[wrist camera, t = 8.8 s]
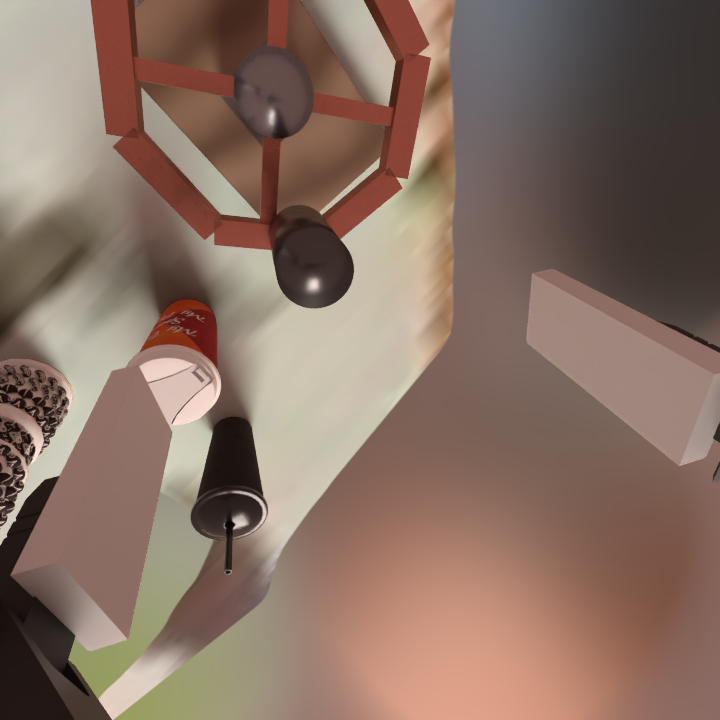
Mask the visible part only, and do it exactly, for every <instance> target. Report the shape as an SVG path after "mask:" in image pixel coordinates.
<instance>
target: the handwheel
mask: <svg viewBox="0 0 720 720" xmlns="http://www.w3.org/2000/svg"><path fill="white" fill-rule="evenodd" d="M134 1H135V0H91V7H92V15H93V24H94V32H95V41H96V49H97V58H98V67H99V75H100V84H101V92H102V101H103V109H104V118H105V126H106V134H110V135H116V136H123V138H122V139H120V140H119V141H118V142H117V143H116V144H115V145H114V146H113V147H114V148H115V149H116V151H117V152H118V153H119V154H120V155H121V156H122V157H123V158H124V159H125V160H126V161H127V162H128V163H129V164H130V165H131V166H132V167H133V168H134V169H135V170H136V171H137V172H138V173H139V174H140V175H141V176H142V177H143V178H144V179H145V180H146V181H147V182H148V183H149V184H150V185H151V186H152V187H153V188H154V189H155V190H156V191H157V192H158V193H159V194H160V195H161V196H162V197H163V198H164V199H165V200H166V201H167V202H168V203H169V204H170V205H171V206H172V207H173V208H174V209H175V210H176V211H177V212H178V213H179V215H180V216H181V217H182V218H183V219H184V220H185V221H186V222H187V223H188V224H189V225H190V226H191V227H192V228H193V229H194V230H195V231H196V232H197V233H198V234H199V235H200V236H201V237H202V238H203V239H204V240H205V239H206V238H208V237H209V236H210V235H211V234H212V233H213V232H214V242H215V245H222V246H233V247H244V248H255V249H267V250H272V255H273V261H274V266H275V271H276V276H277V280H278V284H279V286H280V288H281V290H282V292H283V293H284V294H285V296H286V297H287V298H288V299H289V300H291V301H292V302H294V303H295V304H297V305H300V306H302V307H306V308H322V307H326V306H329V305H331V304H333V303H335V302H337V301H338V300H339V299H340V298H342V297H343V296H344V294H345V293H346V292H347V290H348V289H349V287H350V285H351V282H352V280H353V275H354V265H353V260H352V257H351V255H350V252H349V251H348V249H347V248H346V246H345V245H344V244H343V242H342V241H341V240H340V239H341V238H342V237H343V236H344V235H346V234H347V233H348V232H349V231H351V230H352V229H353V228H354V227H355V226H357V225H358V224H359V223H360V222H362V221H363V220H364V219H365V218H366V217H368V216H369V215H370V214H371V213H373V212H374V211H375V210H376V209H377V208H379V207H380V206H381V205H382V204H383V203H385V202H386V201H387V200H388V199H390V198H391V197H392V196H393V195H394V194H396V193H397V192H398V191H399V190H401V189H402V186H401V185H400V183H399V181H398V180H397V178H396V177H398V178H405V179H408V175H409V170H410V164H411V159H412V154H413V149H414V143H415V138H416V133H417V128H418V123H419V117H420V112H421V107H422V102H423V96H424V91H425V86H426V81H427V76H428V70H429V65H430V60H431V58H429V57H425V56H421V55H418V54H419V53H420V52H422V51H423V50H424V49H425V48H426V47H427V46H428V45H429V43H428V41H427V39H426V36H425V34H424V32H423V30H422V28H421V26H420V24H419V22H418V19H417V17H416V15H415V13H414V11H413V9H412V7H411V5H410V3H409V0H364V1H365V3H366V5H367V7H368V9H369V11H370V13H371V15H372V17H373V19H374V21H375V22H376V24H377V26H378V28H379V30H380V32H381V34H382V36H383V38H384V40H385V42H386V43H387V45H388V47H389V49H390V51H391V53H392V55H393V57H394V59H395V61H396V64H395V70H394V77H393V83H392V89H391V95H390V102H389V107H387V106H382V105H377V104H372V103H366V102H361V101H356V100H351V99H346V98H341V97H336V96H331V95H326V94H321V93H316V92H314V90H313V85H312V81H311V78H310V76H309V73H308V71H307V69H306V68H305V66H304V65H303V63H302V62H301V61H300V60H299V59H298V58H297V57H296V56H295V55H294V54H292V53H291V52H289V51H288V50H286V39H287V22H288V4H289V0H268V21H267V46H262V47H259V48H256V49H254V50H252V51H251V52H250V53H248V54H247V55H246V56H245V57H244V58H243V60H242V61H241V63H240V64H239V66H238V68H237V71H236V74H235V77H234V76H230V75H225V74H220V73H214V72H209V71H204V70H199V69H194V68H189V67H184V66H179V65H174V64H169V63H164V62H159V61H154V60H149V59H143V58H138V46H137V33H136V20H135V8H134ZM140 81H144V82H149V83H155V84H160V85H166V86H171V87H177V88H182V89H187V90H193V91H198V92H204V93H209V94H215V95H220V96H226V97H231V98H234V95H235V100H236V104H237V107H238V109H239V111H240V113H241V115H242V117H243V118H244V120H245V121H246V122H247V123H248V125H249V126H250V127H251V128H252V129H254V130H255V131H256V132H258V133H260V134H261V135H263V150H262V176H261V201H260V219H257V218H248V217H239V216H229V215H221V214H220V213H219V212H218V211H217V210H216V209H215V208H214V207H213V205H212V204H211V203H210V202H209V201H208V200H207V199H206V198H205V197H204V196H203V195H202V194H201V192H200V191H199V190H198V189H197V188H196V187H195V186H194V185H193V184H192V183H191V182H190V180H189V179H188V178H187V177H186V176H185V175H184V174H183V173H182V172H181V171H180V170H179V169H178V167H177V166H176V165H175V164H174V163H173V162H172V161H171V160H170V159H169V158H168V157H167V156H166V154H165V153H164V152H163V151H162V150H161V149H160V148H159V147H158V146H157V145H156V144H155V142H154V141H153V140H152V139H151V138H150V137H149V136H148V135H147V134H146V133H145V132H144V121H143V109H142V96H141V83H140ZM312 112H313V113H318V114H324V115H329V116H335V117H340V118H345V119H351V120H356V121H362V122H367V123H373V124H378V125H384V126H386V127H385V133H384V139H383V145H382V152H381V158H380V164H379V168H378V169H377V170H375V171H374V172H373V173H372V174H371V175H369V176H368V177H367V178H366V179H365V180H363V181H362V182H361V183H360V184H359V185H357V186H356V187H355V188H354V189H353V190H352V191H350V192H349V193H348V194H347V195H346V196H344V197H343V198H342V199H341V200H340V201H338V202H337V203H336V204H335V205H334V206H332V207H331V208H330V209H329V210H328V211H326V212H325V213H324V214H323V215H321V214H320V213H319V212H318V211H316V210H315V209H313V208H311V207H309V206H305V205H293V206H289V207H286V208H285V209H283V210H281V211H280V212H279V213H278V214H277V197H278V180H279V162H280V145H281V139H283V138H288V137H290V136H293V135H294V134H296V133H298V132H299V131H300V130H301V129H302V128H303V127H304V126H305V125H306V123H307V122H308V120H309V118H310V116H311V113H312Z"/></svg>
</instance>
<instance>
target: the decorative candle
mask: <svg viewBox="0 0 720 720" xmlns="http://www.w3.org/2000/svg"><path fill="white" fill-rule="evenodd" d="M72 400H73V393H72V388H71V385H70V384H69V382H68V381H67V380H66V378H65V377H64V376H63V374H62V373H60V372H58V371H57V370H55V369H54V368H52V367H51V366H49V365H48V364H45V363H41V362H38V361H35V360H32V359H8V360H5V361H1V362H0V527H1V526H2V525H4V524H5V523H6V521H7V515H6V514H8V513H10V512H12V511H13V509H14V507H15V504H14V502H15V501H16V499H17V493H19V492H21V491H22V490H23V488H24V484H25V481H26V478H27V475H28V473H29V471H28V468H27V467H28V466H29V465H30V464H32V463H33V462H34V461H35V459H36V458H37V456H38V455H40V454H41V453H42V452H43V448H45V447H47V446H48V445H49V443H50V440H49V438H50V437H53V436H54V435H55V431H56V429H57V428H58V427H59V426H60V425H61V424H62V421H63V418H64V417H65V416H66V415H67V413H68V410H69V408H70V406H71V403H72Z"/></svg>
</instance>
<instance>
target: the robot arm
mask: <svg viewBox="0 0 720 720" xmlns="http://www.w3.org/2000/svg"><path fill="white" fill-rule="evenodd" d="M526 342H527V343H528V344H529V345H530V346H532V347H533V348H534V349H535V350H536V351H538V352H539V353H540V354H541V355H543V356H544V357H545V358H546V359H548V360H549V361H550V362H551V363H553V364H554V365H555V366H556V367H558V368H559V369H560V370H561V371H562V372H564V373H565V374H566V375H567V376H569V377H570V378H571V379H572V380H574V381H575V382H576V383H577V384H579V385H580V386H581V387H582V388H584V389H585V390H586V391H587V392H588V393H590V394H591V395H592V396H593V397H595V398H596V399H597V400H598V401H600V402H601V403H602V404H603V405H604V406H606V407H607V408H608V409H609V410H611V411H612V412H613V413H614V414H616V415H617V416H618V417H619V418H621V419H622V420H623V421H624V422H625V423H627V424H628V425H629V426H630V427H632V428H633V429H634V430H635V431H637V432H638V433H639V434H640V435H642V436H643V437H644V438H645V439H647V440H648V441H649V442H650V443H651V444H653V445H654V446H655V447H656V448H658V449H659V450H660V451H661V452H663V453H664V454H665V455H666V456H667V457H669V458H670V459H671V460H672V461H674V462H675V463H676V464H678V465H679V466H681V465H684V464H687V463H690V462H693V461H696V460H699V459H703V458H706V456H707V453H708V451H709V448H710V446H711V444H712V442H713V440H714V439H715V440H717V441H718V442H720V348H719V347H717V346H715V345H713V344H708V342H707V341H705V340H703V339H701V338H699V337H694V336H693V334H691V333H689V332H686V331H685V330H683V329H680V328H678V327H677V326H674V325H670V324H667V323H663V322H659V321H655V320H653V319H651V318H649V317H647V316H645V315H643V314H641V313H639V312H637V311H635V310H633V309H631V308H629V307H627V306H625V305H623V304H621V303H619V302H617V301H615V300H614V299H611V298H610V297H608V296H606V295H603V294H602V293H600V292H598V291H596V290H594V289H592V288H590V287H588V286H586V285H584V284H582V283H580V282H578V281H576V280H574V279H572V278H570V277H568V276H566V275H564V274H562V273H560V272H558V271H556V270H554V269H549V270H545V271H540V272H537V273H532V283H531V295H530V306H529V317H528V328H527V340H526ZM171 437H172V431H171V429H170V427H169V425H168V423H167V421H166V419H165V417H164V415H163V413H162V411H161V409H160V407H159V405H158V403H157V401H156V399H155V397H154V395H153V393H152V391H151V389H150V387H149V385H148V383H147V381H146V379H145V377H144V375H143V373H142V371H141V369H140V367H139V365H136V366H131V367H127V368H123V369H118V370H114V371H112V372H111V374H110V376H109V378H108V380H107V382H106V384H105V386H104V388H103V390H102V392H101V394H100V396H99V398H98V400H97V402H96V404H95V406H94V408H93V410H92V412H91V414H90V416H89V418H88V420H87V422H86V424H85V427H84V429H83V431H82V433H81V435H80V437H79V439H78V441H77V443H76V445H75V447H74V449H73V451H72V453H71V455H70V457H69V459H68V461H67V463H66V465H65V467H64V469H63V471H62V473H61V475H60V476H57V477H53V478H50V479H46V480H44V481H43V482H42V483H41V484H40V485H39V486H38V487H37V488H36V489H35V490H34V491H33V492H32V494H31V495H30V496H29V497H28V498H27V499H26V500H25V502H24V504H23V506H22V508H21V509H20V511H19V513H18V515H17V517H16V522H13V524H12V526H11V527H10V529H9V531H8V533H7V538H5V539H4V540H3V542H2V544H1V545H0V720H112V719H111V718H110V716H109V715H108V713H107V712H106V710H105V709H104V707H103V706H102V705H101V703H100V702H99V700H98V699H97V697H96V696H95V694H94V693H93V691H92V690H91V688H90V687H89V685H88V684H87V683H86V681H85V680H84V678H83V677H82V675H81V674H80V672H79V671H78V669H77V668H76V667H75V665H74V664H72V663H71V662H70V661H69V660H68V658H69V655H70V651H71V648H72V645H73V642H74V639H76V640H77V641H79V643H80V644H81V645H83V646H84V647H85V648H86V649H87V650H88V651H92V650H96V649H99V648H102V647H106V646H109V645H112V644H115V643H118V642H121V641H125V640H128V637H129V632H130V627H131V623H132V619H133V614H134V609H135V605H136V599H137V595H138V591H139V586H140V581H141V577H142V572H143V567H144V563H145V558H146V553H147V549H148V544H149V539H150V535H151V530H152V525H153V521H154V516H155V511H156V507H157V502H158V497H159V493H160V488H161V483H162V479H163V474H164V469H165V465H166V460H167V455H168V451H169V446H170V441H171ZM719 480H720V462H719V464H718V467H717V469H716V471H715V473H714V475H713V482H716V483H718V482H719Z"/></svg>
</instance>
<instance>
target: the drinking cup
mask: <svg viewBox="0 0 720 720" xmlns="http://www.w3.org/2000/svg"><path fill="white" fill-rule="evenodd" d="M267 514H268V506H267V502H266V500H265V499H264V497H263V491H262V486H261V480H260V474H259V468H258V462H257V456H256V450H255V445H254V439H253V433H252V428H251V425H250V424H249V423H248V422H247V421H246V420H244V419H242V418H239V417H229V418H225V419H223V420H221V421H220V422H218V423H217V424H216V426H215V428H214V431H213V435H212V439H211V443H210V447H209V451H208V455H207V459H206V464H205V468H204V472H203V476H202V480H201V484H200V488H199V492H198V496H197V500H196V502H195V504H194V505H193V507H192V510H191V523H192V525H193V527H194V528H195V530H196V531H198V532H199V533H200V534H201V535H203V536H205V537H208V538H211V539H215V540H226V542H225V564H224V573H225V574H231V573H232V550H233V540H234V539H239V538H242V537H245V536H247V535H250V534H252V533H253V532H255V531H256V530H257V529H259V528H260V527H261V526H262V524H263V523H264V522H265V520H266V517H267Z"/></svg>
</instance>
